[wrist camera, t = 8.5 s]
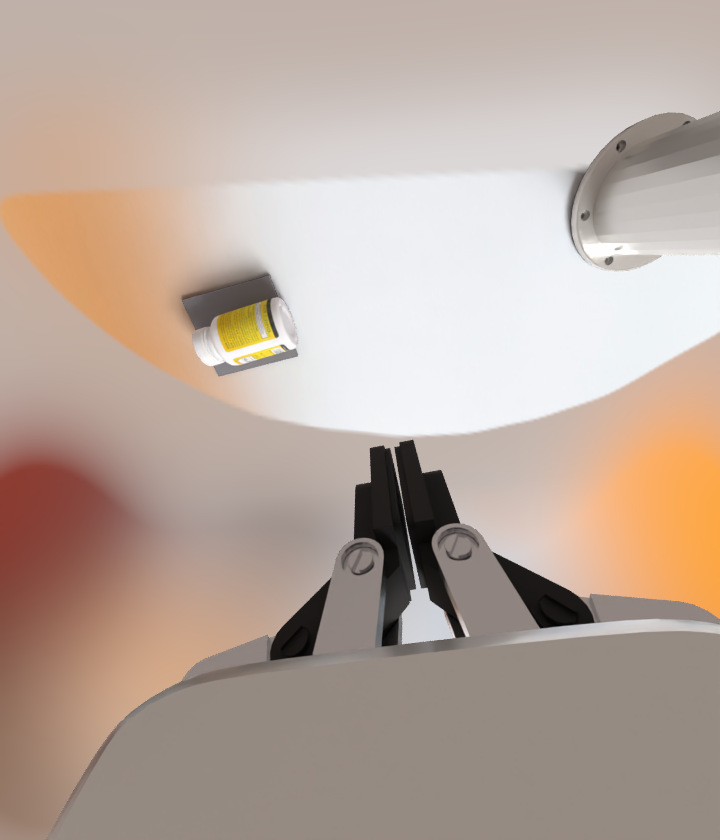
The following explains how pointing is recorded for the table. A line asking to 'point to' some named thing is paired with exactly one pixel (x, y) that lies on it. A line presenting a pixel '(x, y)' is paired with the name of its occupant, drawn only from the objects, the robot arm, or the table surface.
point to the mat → (232, 299)
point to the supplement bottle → (247, 334)
